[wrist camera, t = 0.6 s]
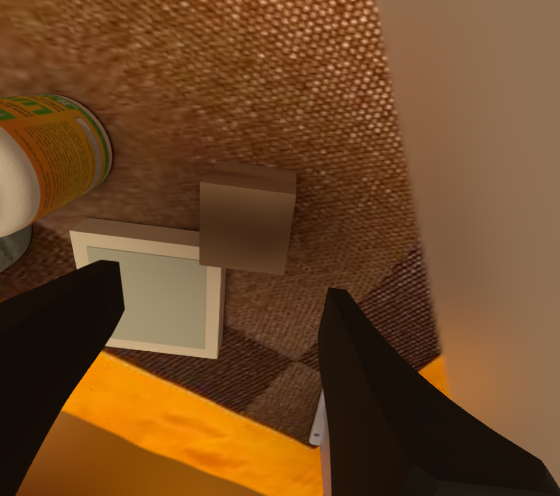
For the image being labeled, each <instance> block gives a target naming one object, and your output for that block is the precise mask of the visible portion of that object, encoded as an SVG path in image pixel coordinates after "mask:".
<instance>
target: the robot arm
mask: <svg viewBox="0 0 560 496" xmlns="http://www.w3.org/2000/svg"><path fill="white" fill-rule="evenodd" d="M124 311H125V305H124V296H123V288H122V280H121V272H120V264H119V262H117V261H109V260H98V261H96V262H93V263H91V264H88V265H86V266H84V267H81V268H79V269H77V270H75V271H72V272H70V273H68V274H66V275H63V276H61V277H59V278H57V279H55V280H52V281H50V282H48V283H46V284H43V285H41V286H39V287H37V288H34V289H32V290H29V291H27V292H24V293H22V294H20V295H17V296H15V297H12V298H10V299H7V300H5V301H3V302H0V496H15V495H16V493H17V491H18V489H19V487H20V485H21V483H22V481H23V479H24V477H25V475H26V473H27V471H28V469H29V467H30V465H31V464H32V462H33V460H34V458H35V456H36V454H37V452H38V450H39V448H40V447H41V445H42V443H43V441H44V439H45V437H46V435H47V434H48V432H49V430H50V428H51V427H52V425H53V423H54V421H55V420H56V418H57V416H58V414H59V413H60V411H61V409H62V407H63V406H64V404H65V402H66V401H67V399H68V398H69V396H70V395H71V393H72V392H73V390H74V389H75V387H76V386H77V385H78V383H79V382H80V380H81V379H82V377H83V376H84V375H85V373H86V372H87V370H88V369H89V368H90V366H91V365H92V363H93V362H94V361H95V359H96V358H97V356H98V355H99V353H100V352H101V351H102V349H103V348H104V346H105V345H106V343H107V342H108V340H109V339H110V337H111V336H112V334H113V332H114V331H115V329H116V327H117V325H118V323H119V321H120V319H121V317H122V315H123V313H124ZM318 353H319V366H320V373H321V380H322V387H323V388H322V392H321V395H320V399H319V403H318V407H317V410H316V414H315V418H314V421H313V425H312V429H311V433H310V436H309V442H310V443H311V444H313V445H320V451H321V465H322V480H323V494H324V496H560V488H559V486H558V485H557V483H556V482H555V480H554V479H553V477H552V475H551V474H550V472H549V471H548V469H547V468H546V466H545V465H544V463H543V462H542V461H541V460H540V459H538V458H536V457H535V456H533V455H532V454H530V453H529V452H527V451H525V450H523V449H522V448H521V447H519V446H517V445H516V444H514V443H513V442H511V441H509V440H508V439H506V438H505V437H503V436H501V435H500V434H498V433H497V432H495V431H494V430H492V429H490V428H489V427H487V426H486V425H485V424H483V423H482V422H480V421H479V420H478V419H476V418H475V417H473V416H472V415H470V414H469V413H468V412H466V411H465V410H464V409H462V408H461V407H460V406H458V405H457V404H456V403H454V402H453V401H452V400H450V399H449V398H448V397H447V396H445V395H444V394H443V393H442V392H440V391H439V390H438V389H437V388H435V387H434V386H433V385H432V384H431V383H429V382H428V381H427V380H426V379H425V378H424V377H422V376H421V375H420V374H419V373H418V372H417V371H416V370H415V369H414V368H413V367H412V366H411V365H410V364H408V363H407V362H406V361H405V360H404V359H403V358H402V357H401V356H400V355H399V354H398V353H397V352H396V351H395V349H394V348H393V347H392V346H391V345H390V344H389V343H388V342H387V341H386V340H385V339H384V337H383V336H382V335H381V334H380V333H379V332H378V330H377V329H376V328H375V327H374V326H373V324H372V323H371V322H370V321H369V319H368V318H367V317H366V316H365V314H364V313H363V312H362V310H361V309H360V308H359V306H358V305H357V304H356V302H355V301H354V300H353V298H352V297H351V296H350V294H349V293H348V292H347V290H344V289H336V288H328V292H327V297H326V301H325V305H324V310H323V314H322V318H321V323H320V327H319V331H318Z"/></svg>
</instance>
